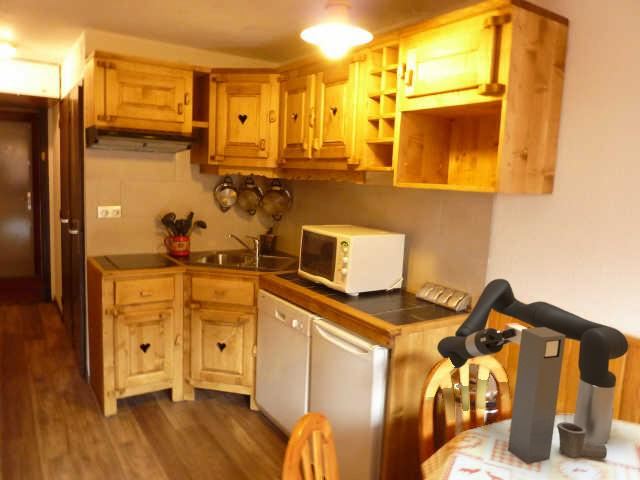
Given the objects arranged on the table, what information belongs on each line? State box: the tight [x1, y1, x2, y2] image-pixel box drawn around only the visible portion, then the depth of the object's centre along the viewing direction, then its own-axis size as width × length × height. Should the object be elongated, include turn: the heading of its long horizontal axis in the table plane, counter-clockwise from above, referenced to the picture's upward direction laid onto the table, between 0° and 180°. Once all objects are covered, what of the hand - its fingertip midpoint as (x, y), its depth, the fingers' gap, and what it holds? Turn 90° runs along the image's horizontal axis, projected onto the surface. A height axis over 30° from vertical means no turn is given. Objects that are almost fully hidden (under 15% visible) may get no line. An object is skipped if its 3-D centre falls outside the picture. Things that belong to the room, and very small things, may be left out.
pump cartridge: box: [503, 322, 558, 357], centre depth 135 cm, size 4×15×4 cm, turn 22°
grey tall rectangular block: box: [507, 327, 566, 465], centre depth 133 cm, size 8×7×35 cm
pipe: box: [556, 421, 608, 459], centre depth 137 cm, size 6×13×8 cm, turn 78°
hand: (522, 331), depth 138 cm, fingers open, 5 cm apart
